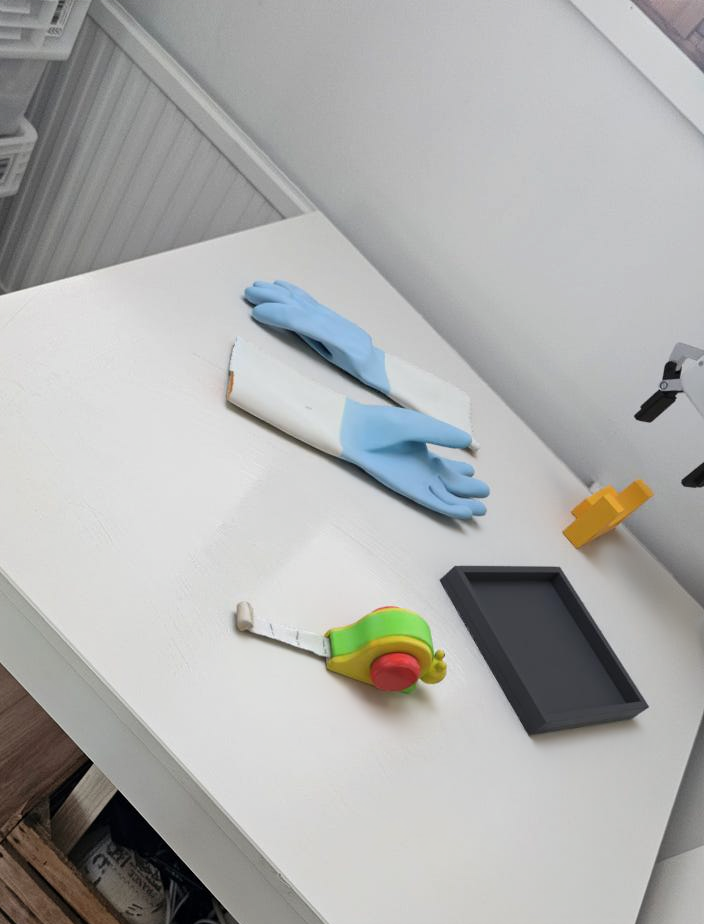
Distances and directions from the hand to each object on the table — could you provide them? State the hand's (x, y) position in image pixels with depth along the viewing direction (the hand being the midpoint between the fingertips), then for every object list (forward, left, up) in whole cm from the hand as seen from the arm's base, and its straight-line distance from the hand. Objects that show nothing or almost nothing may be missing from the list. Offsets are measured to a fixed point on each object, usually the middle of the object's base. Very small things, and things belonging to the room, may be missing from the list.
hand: (664, 451), depth 117 cm
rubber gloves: (+29, -16, -13) cm, 35 cm away
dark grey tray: (+24, +17, -13) cm, 32 cm away
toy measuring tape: (+52, +16, -13) cm, 56 cm away
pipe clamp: (0, 0, -13) cm, 13 cm away
